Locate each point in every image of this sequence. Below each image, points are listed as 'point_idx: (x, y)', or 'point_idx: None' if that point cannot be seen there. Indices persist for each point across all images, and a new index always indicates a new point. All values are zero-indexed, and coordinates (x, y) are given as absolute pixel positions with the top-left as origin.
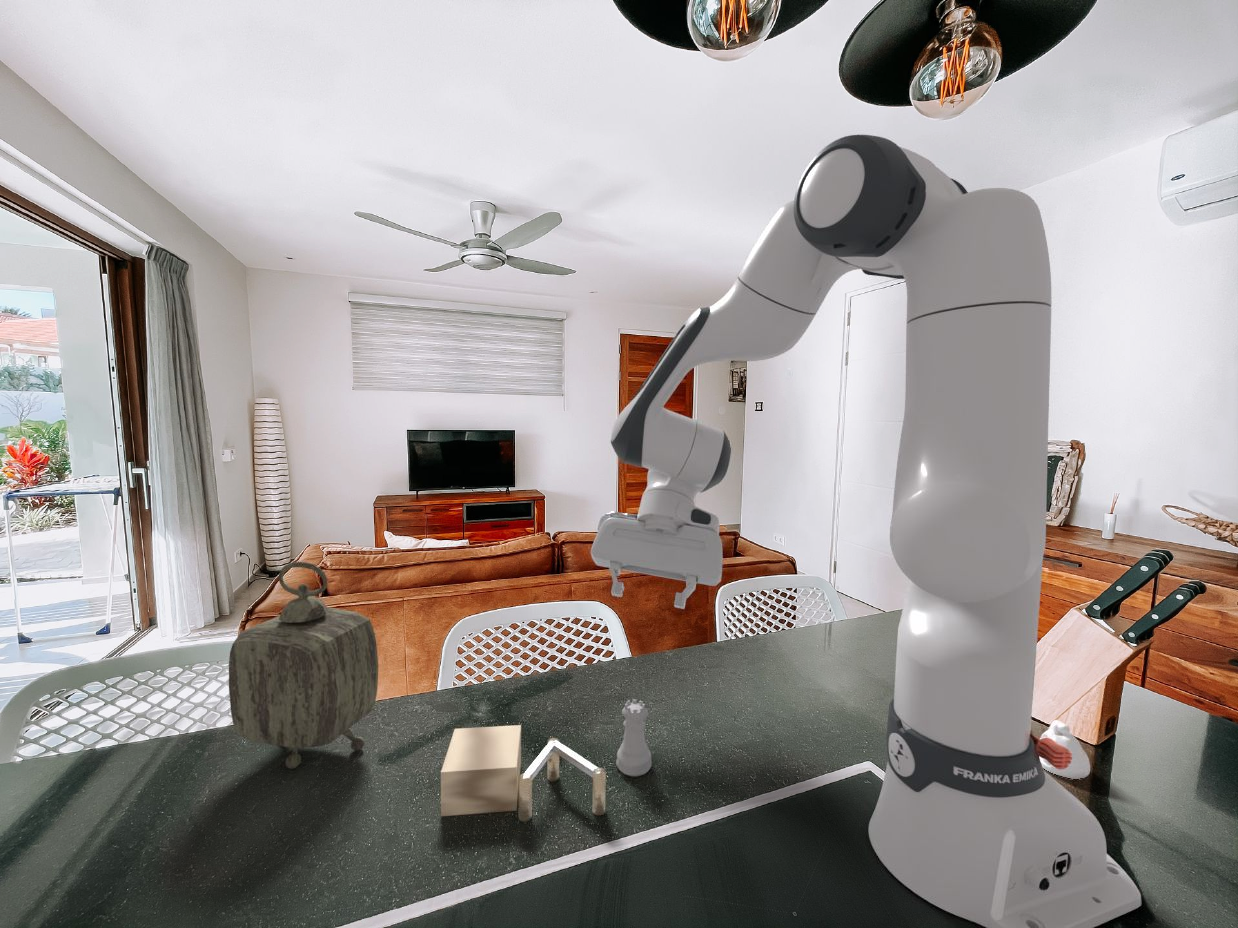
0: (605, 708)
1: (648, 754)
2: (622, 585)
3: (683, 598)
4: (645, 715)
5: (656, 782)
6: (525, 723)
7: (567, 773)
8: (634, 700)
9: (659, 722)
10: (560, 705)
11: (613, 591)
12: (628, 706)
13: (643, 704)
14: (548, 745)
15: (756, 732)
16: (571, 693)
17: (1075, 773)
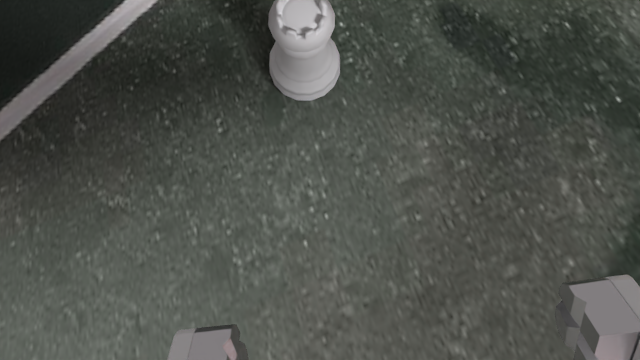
0: (442, 239)
1: (273, 60)
2: (588, 324)
3: (178, 357)
4: (270, 12)
5: (250, 42)
6: (579, 110)
7: (413, 2)
8: (309, 30)
9: (302, 234)
10: (548, 207)
11: (611, 277)
12: (318, 11)
13: (280, 21)
14: None
15: (83, 284)
16: (552, 270)
17: None
